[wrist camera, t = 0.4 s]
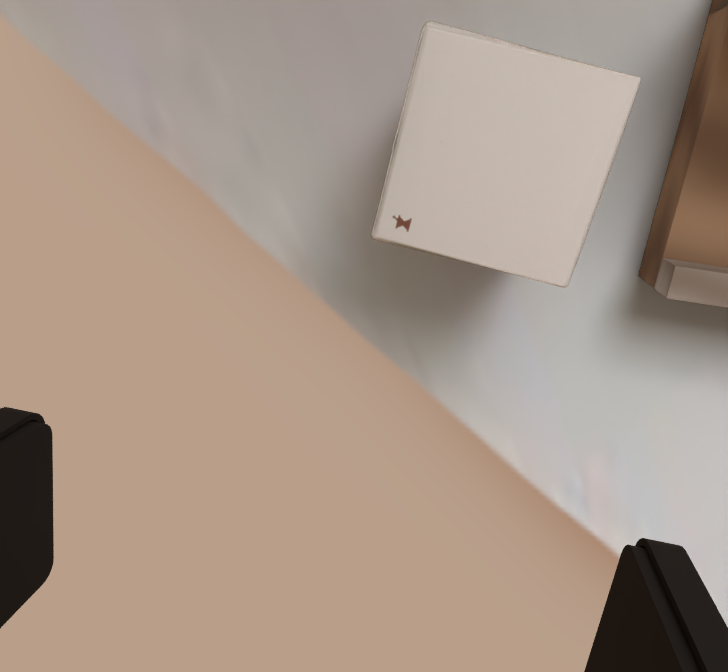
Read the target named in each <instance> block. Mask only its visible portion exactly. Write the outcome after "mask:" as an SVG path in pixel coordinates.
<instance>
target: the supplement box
mask: <svg viewBox="0 0 728 672" xmlns="http://www.w3.org/2000/svg"><path fill="white" fill-rule="evenodd" d="M640 82H641V79H640V77H637V76H631V75H627V74H623V73H620V72H616V71H612V70H609V69H605V68H601V67H597V66H594V65H590V64H586V63H582V62H578V61H575V60H571V59H567V58H564V57H560V56H557V55H553V54H549V53H546V52H542V51H539V50H535V49H531V48H528V47H524V46H521V45H517V44H513V43H510V42H506V41H503V40H499V39H496V38H492V37H488V36H484V35H481V34H477V33H473V32H470V31H466V30H462V29H459V28H455V27H451V26H447V25H444V24H440V23H437V22H433V21H428V22H426V23H425V25H424V26H423V29H422V31H421V35H420V39H419V43H418V47H417V51H416V55H415V60H414V64H413V68H412V72H411V76H410V80H409V84H408V88H407V92H406V96H405V100H404V104H403V108H402V112H401V116H400V120H399V124H398V128H397V132H396V135H395V139H394V143H393V146H392V152H391V158H390V162H389V166H388V170H387V174H386V178H385V182H384V186H383V190H382V194H381V198H380V202H379V206H378V210H377V214H376V218H375V221H374V225H373V229H372V233H371V237H372V238H373V239H375V240H378V241H382V242H386V243H390V244H394V245H398V246H403V247H407V248H411V249H415V250H419V251H423V252H427V253H431V254H435V255H439V256H443V257H447V258H451V259H455V260H459V261H463V262H467V263H471V264H475V265H479V266H483V267H487V268H491V269H495V270H499V271H503V272H507V273H511V274H515V275H518V276H522V277H526V278H530V279H533V280H537V281H541V282H544V283H548V284H552V285H556V286H560V287H567V285H568V283H569V281H570V278H571V276H572V273H573V271H574V268H575V266H576V263H577V260H578V258H579V255H580V252H581V249H582V247H583V244H584V241H585V238H586V236H587V233H588V230H589V227H590V224H591V222H592V219H593V216H594V213H595V211H596V208H597V205H598V202H599V200H600V197H601V194H602V191H603V188H604V185H605V183H606V180H607V177H608V174H609V171H610V168H611V166H612V163H613V160H614V157H615V154H616V151H617V149H618V146H619V143H620V140H621V137H622V134H623V132H624V129H625V126H626V123H627V120H628V117H629V114H630V111H631V108H632V105H633V103H634V100H635V97H636V94H637V91H638V88H639V85H640Z"/></svg>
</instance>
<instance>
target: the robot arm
mask: <svg viewBox="0 0 728 672" xmlns="http://www.w3.org/2000/svg"><path fill="white" fill-rule="evenodd" d="M52 463H53V462H52V431H51V428H50V426H48V425H47V424H45V421H44V419H43V417H42V416H41V415H40V414H37V413H32V412H28V411H23V410H18V409H13V408H7V407H4V408H1V409H0V628H1V627H2V626H3V625H4V624H5V623H6V622H7V621H8V620H9V619H10V618H11V617H12V615H13V614H14V613H15V612H16V611H17V610H18V609H19V608H20V607H21V606H22V605H23V604H24V603H25V602H26V601H27V600H28V599H29V598H30V597H31V596H32V595H33V594H34V593H35V592H36V590H38V589H39V588H40V586H41V585H42V584H43V583H44V582H45V581H46V579H47V577H48V576H49V574H50V571H51V569H52V565H53V467H52V466H53V464H52ZM584 672H728V627H727V626H726V624H725V622H724V620H723V618H722V616H721V615H720V613H719V611H718V609H717V607H716V605H715V604H714V602H713V600H712V598H711V596H710V594H709V593H708V591H707V589H706V587H705V585H704V583H703V582H702V580H701V578H700V576H699V574H698V572H697V571H696V569H695V567H694V565H693V563H692V561H691V560H690V558H689V556H688V554H687V552H686V551H685V549H684V548H683V547H682V546H679V545H674V544H669V543H664V542H660V541H655V540H650V539H645V538H642V539H640V540H639V541H638V542H637V543H636V546H631V545H626V546H625V547H624V549H623V551H622V553H621V556H620V559H619V563H618V566H617V569H616V572H615V575H614V579H613V582H612V585H611V588H610V591H609V595H608V598H607V601H606V604H605V607H604V611H603V614H602V617H601V621H600V624H599V627H598V630H597V633H596V636H595V640H594V643H593V646H592V649H591V652H590V655H589V659H588V662H587V665H586V668H585V671H584Z"/></svg>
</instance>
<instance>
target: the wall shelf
mask: <svg viewBox="0 0 728 672" xmlns="http://www.w3.org/2000/svg"><path fill="white" fill-rule="evenodd" d="M638 276H639V277H641V278H642V279H643V280H644V281H646V282H647V283H648V284H649V285H651V286H652V287H653V288H654V289H656V290H657V291H658V292H659V293H661V294H662V295H663V296H664V297H666V298H668V299H674V300H681V301H687V302H694V303H700V304H706V305H713V306H719V307H726V308H728V0H713V1H712V5H711V9H710V12H709V16H708V20H707V23H706V27H705V31H704V34H703V38H702V42H701V46H700V49H699V53H698V57H697V60H696V64H695V68H694V71H693V75H692V79H691V83H690V86H689V90H688V94H687V97H686V101H685V105H684V109H683V112H682V116H681V120H680V123H679V127H678V131H677V134H676V138H675V142H674V146H673V149H672V153H671V157H670V160H669V164H668V168H667V171H666V175H665V179H664V183H663V186H662V190H661V194H660V197H659V201H658V205H657V209H656V212H655V216H654V220H653V223H652V227H651V231H650V234H649V238H648V242H647V246H646V249H645V253H644V257H643V260H642V264H641V268H640V271H639V275H638Z"/></svg>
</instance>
